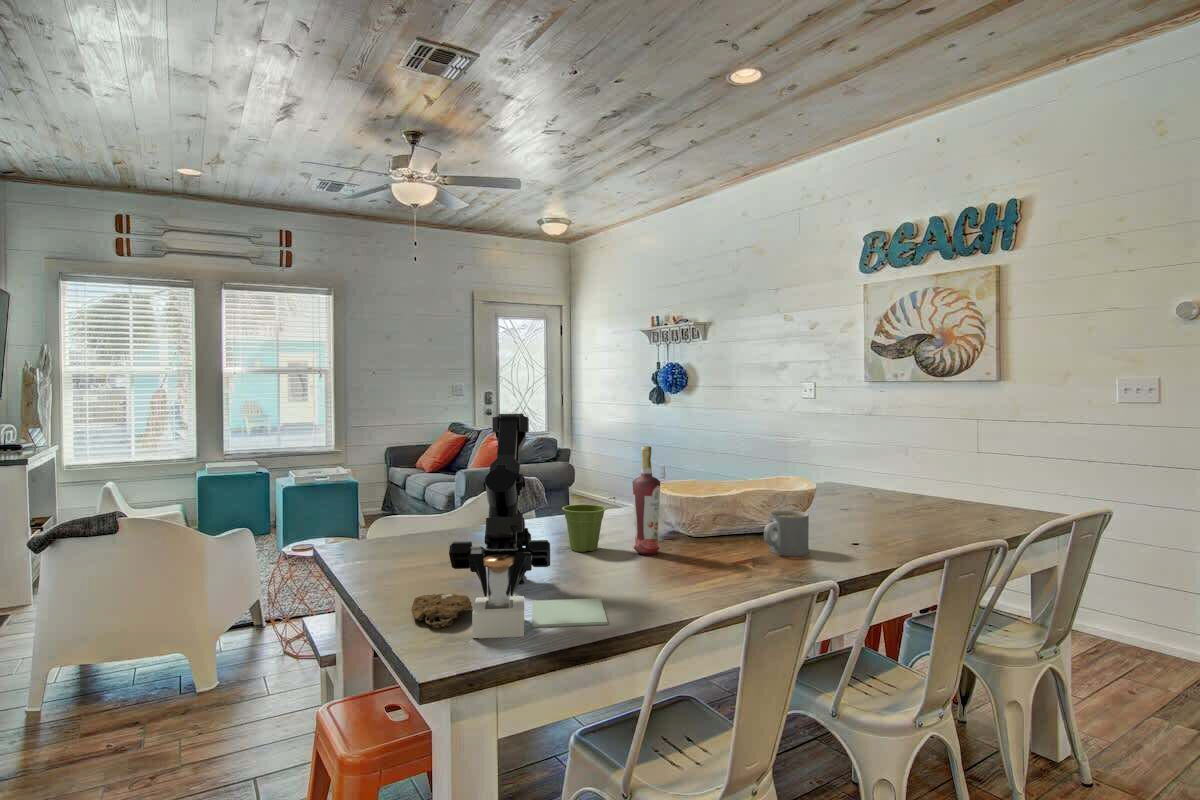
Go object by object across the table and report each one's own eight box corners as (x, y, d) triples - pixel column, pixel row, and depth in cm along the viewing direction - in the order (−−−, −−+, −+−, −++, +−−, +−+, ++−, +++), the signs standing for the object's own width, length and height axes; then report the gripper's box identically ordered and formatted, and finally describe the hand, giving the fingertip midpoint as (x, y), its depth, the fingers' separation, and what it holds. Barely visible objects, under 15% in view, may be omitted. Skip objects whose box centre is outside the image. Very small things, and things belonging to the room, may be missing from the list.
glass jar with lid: (485, 623, 130) (484, 555, 129) (515, 622, 130) (514, 554, 130) (482, 634, 124) (482, 562, 124) (514, 633, 125) (513, 561, 124)
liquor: (650, 557, 177) (650, 448, 176) (627, 553, 182) (626, 447, 181) (665, 552, 183) (665, 446, 182) (642, 548, 187) (642, 445, 187)
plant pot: (606, 554, 181) (605, 511, 180) (560, 554, 181) (560, 511, 181) (606, 544, 193) (606, 503, 192) (564, 544, 193) (563, 503, 192)
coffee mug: (793, 545, 190) (793, 509, 190) (816, 554, 180) (816, 515, 180) (751, 549, 185) (751, 512, 185) (772, 558, 176) (772, 519, 176)
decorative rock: (481, 628, 129) (462, 607, 143) (481, 606, 129) (463, 587, 143) (418, 634, 124) (405, 612, 138) (419, 611, 125) (406, 591, 138)
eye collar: (476, 621, 131) (476, 597, 131) (524, 619, 132) (524, 595, 132) (472, 638, 122) (472, 613, 122) (523, 636, 123) (523, 611, 123)
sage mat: (532, 603, 142) (532, 600, 142) (600, 600, 143) (600, 598, 143) (532, 627, 128) (532, 624, 128) (607, 624, 129) (607, 621, 129)
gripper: (449, 499, 130) (440, 574, 119) (549, 497, 131) (549, 571, 120) (456, 532, 138) (448, 604, 127) (550, 530, 139) (550, 602, 128)
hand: (498, 595), depth 126 cm, fingers closed on glass jar with lid, 4 cm apart
